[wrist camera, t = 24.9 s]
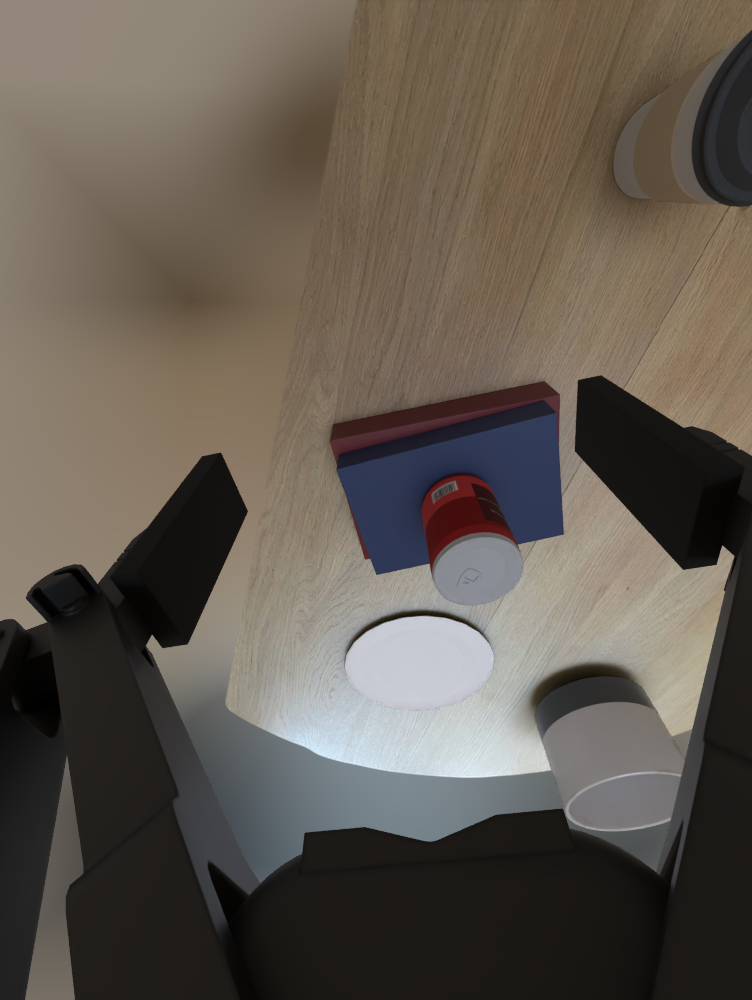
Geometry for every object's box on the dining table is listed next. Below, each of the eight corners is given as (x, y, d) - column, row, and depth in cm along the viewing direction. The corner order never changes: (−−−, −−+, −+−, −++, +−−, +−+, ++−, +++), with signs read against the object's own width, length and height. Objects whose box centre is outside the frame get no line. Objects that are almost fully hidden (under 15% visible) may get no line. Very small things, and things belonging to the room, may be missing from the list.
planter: (648, 704, 79) (712, 814, 64) (549, 733, 84) (586, 841, 69) (623, 646, 70) (690, 758, 55) (513, 683, 75) (547, 794, 60)
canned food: (411, 525, 47) (421, 598, 37) (434, 463, 42) (451, 528, 33) (476, 539, 48) (500, 613, 38) (505, 479, 44) (540, 547, 34)
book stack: (333, 424, 49) (326, 455, 42) (544, 381, 46) (573, 406, 39) (365, 538, 58) (364, 578, 51) (544, 507, 55) (568, 545, 48)
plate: (316, 641, 69) (315, 650, 68) (457, 587, 63) (459, 595, 61) (388, 716, 81) (388, 725, 79) (512, 677, 74) (515, 686, 73)
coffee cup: (737, 118, 34) (948, 51, 22) (653, 234, 39) (787, 234, 26) (657, 46, 32) (840, -75, 20) (577, 178, 37) (684, 149, 24)
